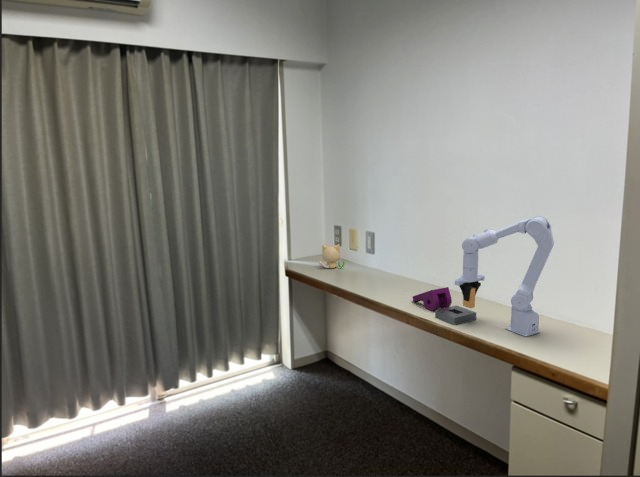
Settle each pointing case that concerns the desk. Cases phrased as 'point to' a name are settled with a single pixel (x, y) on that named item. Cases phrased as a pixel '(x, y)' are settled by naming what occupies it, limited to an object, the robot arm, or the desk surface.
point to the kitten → (331, 256)
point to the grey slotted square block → (455, 315)
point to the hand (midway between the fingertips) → (469, 299)
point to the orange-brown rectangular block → (470, 299)
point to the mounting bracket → (435, 298)
